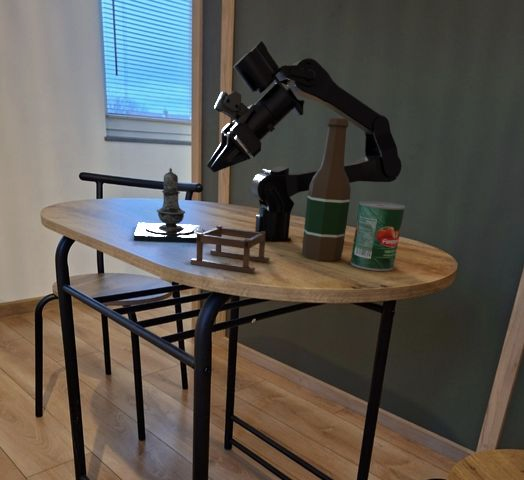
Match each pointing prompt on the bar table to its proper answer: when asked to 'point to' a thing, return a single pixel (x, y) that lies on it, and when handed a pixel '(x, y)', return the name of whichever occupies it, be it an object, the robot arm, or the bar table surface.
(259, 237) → the brown wooden stand
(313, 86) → the robot arm
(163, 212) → the salt shaker
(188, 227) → the plate
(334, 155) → the beer bottle
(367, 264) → the canned tomato
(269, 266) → the bar table surface
